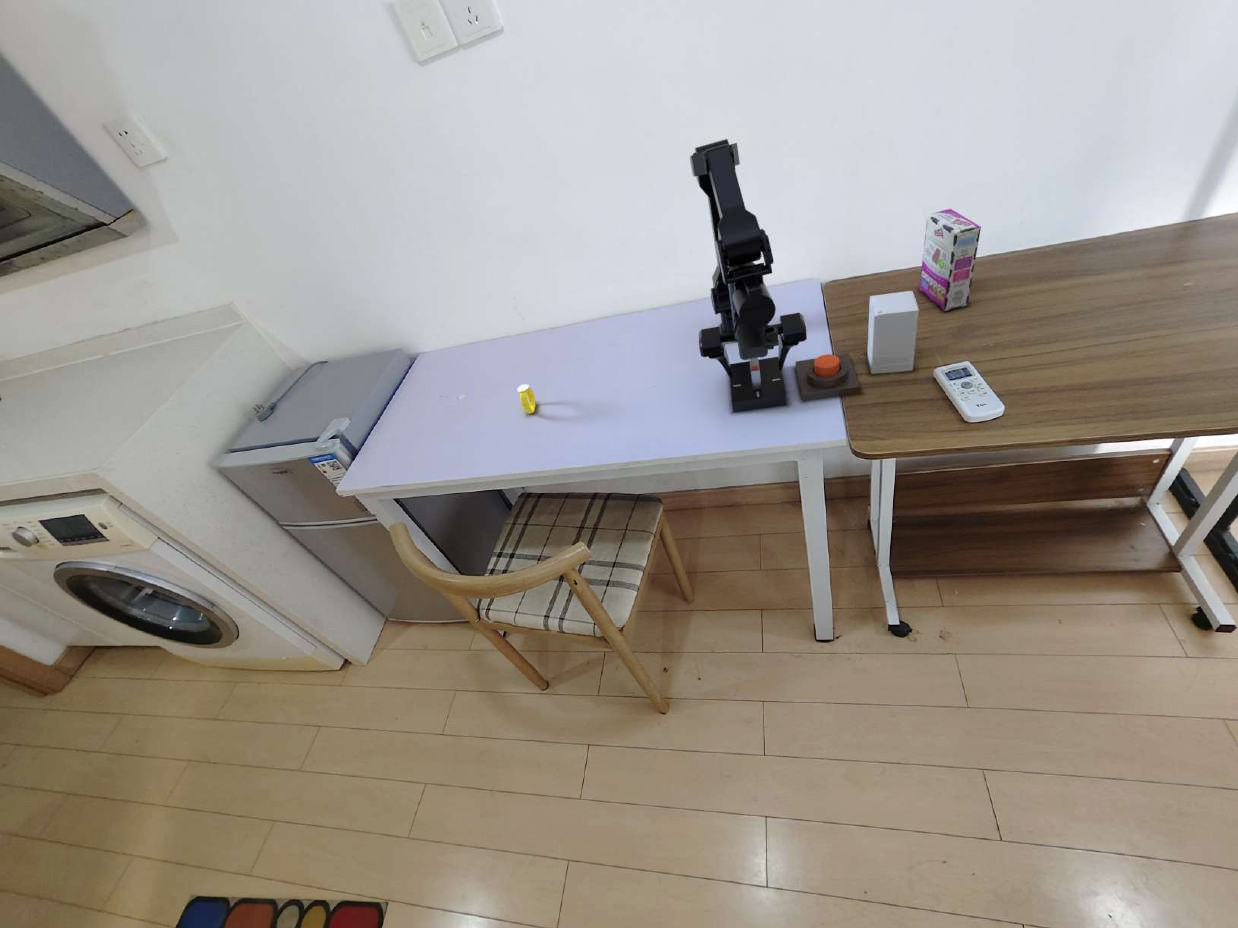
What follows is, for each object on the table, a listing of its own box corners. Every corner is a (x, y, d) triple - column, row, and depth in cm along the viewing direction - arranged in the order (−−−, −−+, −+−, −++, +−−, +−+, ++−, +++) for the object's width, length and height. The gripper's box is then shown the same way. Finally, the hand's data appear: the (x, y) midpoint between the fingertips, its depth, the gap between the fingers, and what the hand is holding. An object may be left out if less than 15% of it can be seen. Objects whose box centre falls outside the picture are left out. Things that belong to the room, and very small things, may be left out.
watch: (536, 416, 127) (527, 394, 123) (524, 418, 127) (515, 397, 124) (539, 400, 131) (530, 379, 128) (528, 402, 132) (518, 381, 128)
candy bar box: (969, 306, 117) (983, 226, 106) (944, 312, 117) (955, 233, 107) (941, 283, 125) (951, 207, 115) (918, 289, 126) (925, 214, 115)
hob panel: (730, 374, 120) (728, 363, 119) (779, 366, 118) (778, 355, 116) (733, 412, 111) (731, 402, 109) (786, 405, 109) (786, 394, 107)
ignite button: (812, 365, 111) (812, 356, 109) (837, 361, 110) (837, 352, 108) (816, 378, 107) (816, 369, 106) (841, 375, 106) (841, 366, 105)
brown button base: (795, 368, 116) (794, 353, 114) (848, 360, 114) (848, 345, 112) (803, 401, 108) (802, 386, 106) (859, 393, 106) (860, 378, 104)
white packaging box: (913, 371, 107) (919, 310, 99) (870, 374, 109) (872, 315, 101) (908, 349, 112) (913, 289, 104) (866, 352, 114) (869, 294, 106)
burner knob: (751, 376, 114) (749, 356, 111) (759, 375, 113) (757, 355, 110) (753, 390, 110) (750, 370, 107) (761, 389, 110) (759, 369, 107)
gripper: (693, 333, 97) (707, 406, 107) (809, 313, 92) (812, 391, 102) (693, 300, 105) (706, 371, 115) (800, 281, 100) (803, 356, 110)
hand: (755, 373), depth 110 cm, fingers open, 9 cm apart
